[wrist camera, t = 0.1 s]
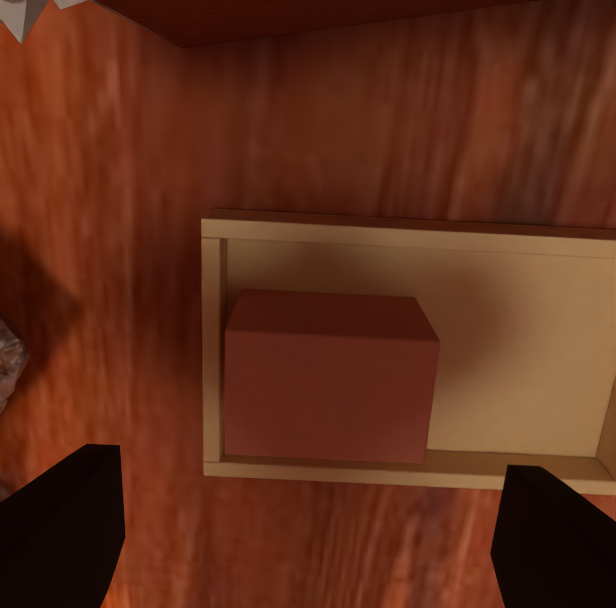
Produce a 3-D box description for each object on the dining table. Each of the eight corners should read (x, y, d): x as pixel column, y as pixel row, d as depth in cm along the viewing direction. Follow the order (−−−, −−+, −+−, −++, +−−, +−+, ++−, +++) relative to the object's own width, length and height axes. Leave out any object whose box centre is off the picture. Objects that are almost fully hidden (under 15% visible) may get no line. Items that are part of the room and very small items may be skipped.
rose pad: (403, 400, 20) (424, 465, 17) (240, 392, 20) (223, 455, 17) (416, 296, 19) (442, 340, 15) (241, 287, 19) (224, 329, 15)
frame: (600, 463, 22) (628, 496, 20) (212, 445, 22) (202, 476, 20) (660, 231, 19) (698, 244, 17) (211, 207, 19) (200, 217, 17)
